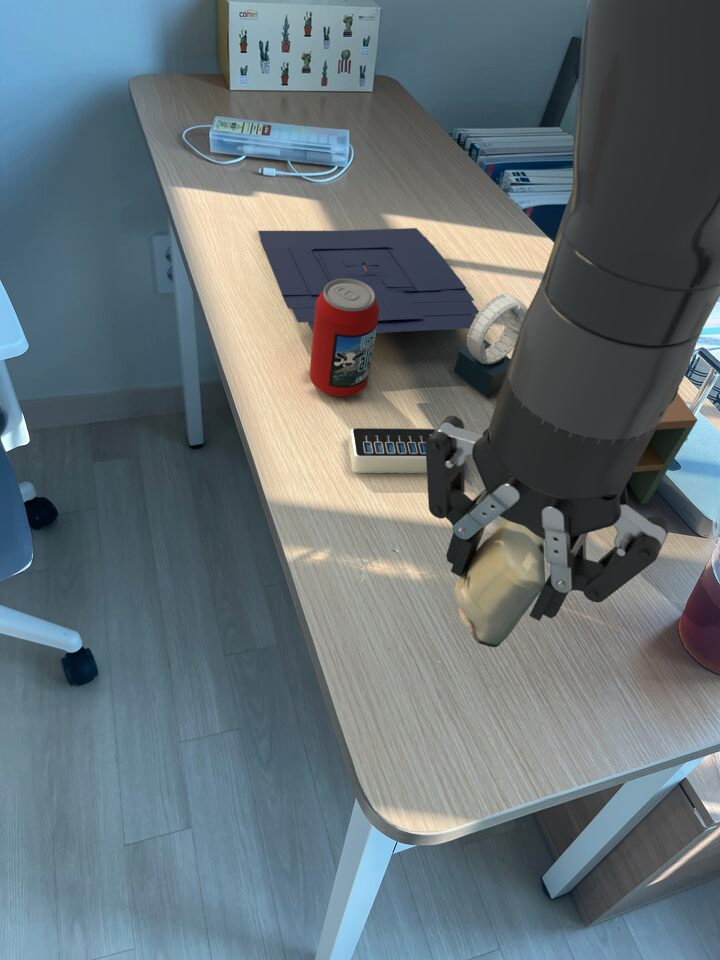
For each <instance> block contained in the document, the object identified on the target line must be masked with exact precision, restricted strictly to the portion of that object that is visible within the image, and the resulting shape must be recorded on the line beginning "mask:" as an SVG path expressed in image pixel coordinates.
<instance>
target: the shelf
mask: <svg viewBox="0 0 720 960" xmlns="http://www.w3.org/2000/svg"><path fill="white" fill-rule="evenodd" d="M697 422H698V418H697V417H696V416H695V414H694V413H693V412H692V410H691V409H690V407H689V406H688V405H687V404H686V402H685V401H684V399H683V397H682V396H681V395H680V394H679V392H677V395H676V397H675V399H674V401H673V402H672V403H671V404H670V405H669V406H668V408H667V410H666V412H665V414H664V415H663V417H662V419H661V421H660V423H659V424H658V426H657V429H656V430H655V432H654V434H653V436H652V438H651V440H650V442H649V443H648V445H647V447H646V449H645V451H644V453H643V455H642V456H641V458H640V460H639V462H638V464H637V466H636V468H635V469H634V471H633V473H632V475H631V477H630V479H629V481H628V482H627V484H628V485H629V487H630V489H631V490H632V491H633V493H634V495H635V496H636V498H637V500H638V501H639V504H641V505H643V504H648V503H649V501H650V500H651V498H652V496H653V494H654V493H655V492H656V490H657V488H658V486H659V485H660V483H661V481H662V480H663V478H664V477H665V475H666V473H667V472H668V470H669V468H670V466H671V465H672V463H673V462H674V460H675V458H676V457H677V455H678V454H679V452H680V450H681V449H682V447H683V445H684V443H685V442H686V440H687V438H688V437H689V436H690V434H691V432H692V430H693V429H694V427H695V425H696V424H697Z"/></svg>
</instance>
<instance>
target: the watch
mask: <svg viewBox="0 0 720 960" xmlns="http://www.w3.org/2000/svg"><path fill="white" fill-rule="evenodd" d="M527 310H528V308H527V306H526V304H524V303H523V302H522V301H521V300H520V299H519V298H518V297H516V296H515V295H512V294H510V293H499V294H498V295H496V296H495V297H493V298H491V299H490V300H489V301H488V302H487V303H486V304H484V305H483V307H482V308H481V309H480V310H479V313H478V314H476V316H475V317H474V318H475V319H474V321H473V323H472V325H471V327H470V328H469V331H468V334H467V335H466V346H467V347H465V348H463V349H460V350H459V351H458V354H457V359H456V362H455V366H454V369H453V373H454V374H455V375H457V376H458V377H460V378H461V379H462V380H464V382H466V383H467V384H468V385H470V386H471V387H472V388H474V389H475V390H476V391H477V392H478V393H480V394H481V395H482V396H484V397H485V398H489V397H490V396H492V395H494V394H496V393H498V392H500V391H501V388H502V385H503V381H504V378H505V375H506V372H507V369H508V366H509V363H510V360H511V357H508V355H509V354H510V353H511V352H512V351H513V350H514V347H515V344H516V340H517V337H518V334H519V331H520V328H521V325H522V322H523V319H524V317H525V314H526V312H527ZM499 318H500V319H501V320H502V321H501V322H502V325H503V326H504V328H503V331H502V332H501V333H500V334H499V337H497V339H496V340H495V341H494V342H493V343H492V344H491V343H490V342H489V341H487V340H486V339H485V338H486V334H487V333H488V331H489V330H490V328H491V327H492V326H493V324H495V322H496V321H497V320H499Z"/></svg>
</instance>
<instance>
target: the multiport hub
mask: <svg viewBox="0 0 720 960" xmlns="http://www.w3.org/2000/svg"><path fill="white" fill-rule="evenodd" d="M437 428H438V427H437ZM437 428H435V427H434V428H432V427H431V428H430V427H429V428H427V427H426V428H421V427H420V428H418V427H353V428H351V429H350V434H349V441H348V451H349V457H350V465H351V470H352V472H353V473H355V474H427V463H426V441H427V440H428V438H429V437H430V436H431V435H432V434H433V433H434V432H435V430H436V429H437Z"/></svg>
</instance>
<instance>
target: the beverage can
mask: <svg viewBox="0 0 720 960" xmlns="http://www.w3.org/2000/svg"><path fill="white" fill-rule="evenodd" d="M378 316H379V306H378V303H377V301H376V299H375V293H374V291H373V290H372V288H371V287H370V286H368V285H367V284H365V283H363V282H361V281H358V280H353V279H337V280H334V281H331V282H329V283H328V284H327V285H326V286H325V288H324V291H323V292H322V293H321V294H320V296H319V297H318V299H317V301H316V308H315V318H314V328H313V333H312V341H311V351H310V352H311V353H310V362H309V363H310V366H309V378H310V382H311V383H312V384H313V386H314V387H315V388H317V389H318V390H319V391H321V392H322V393H324V394H327V395H331V396H336V397H350V396H354V395H356V394H358V393H360V392H361V391H363V390H365V388H366V387H367V384H368V381H369V375H370V370H371V365H372V359H373V355H374V347H375V343H376V342H375V341H376V336H377V335H376V334H377V333H376V329H377V323H378Z"/></svg>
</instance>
